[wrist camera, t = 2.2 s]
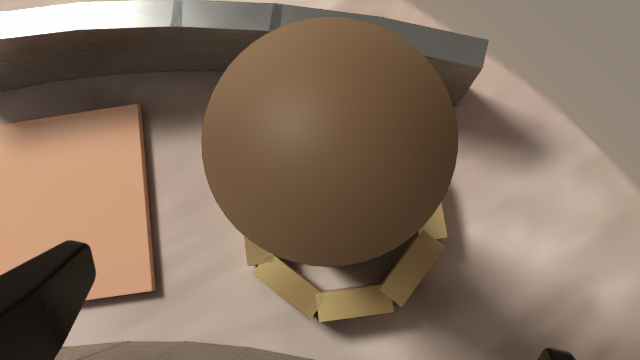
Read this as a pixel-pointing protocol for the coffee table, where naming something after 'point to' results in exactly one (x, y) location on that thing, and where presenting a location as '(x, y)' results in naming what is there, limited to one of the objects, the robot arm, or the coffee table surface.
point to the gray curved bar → (184, 55)
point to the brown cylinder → (332, 159)
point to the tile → (79, 194)
